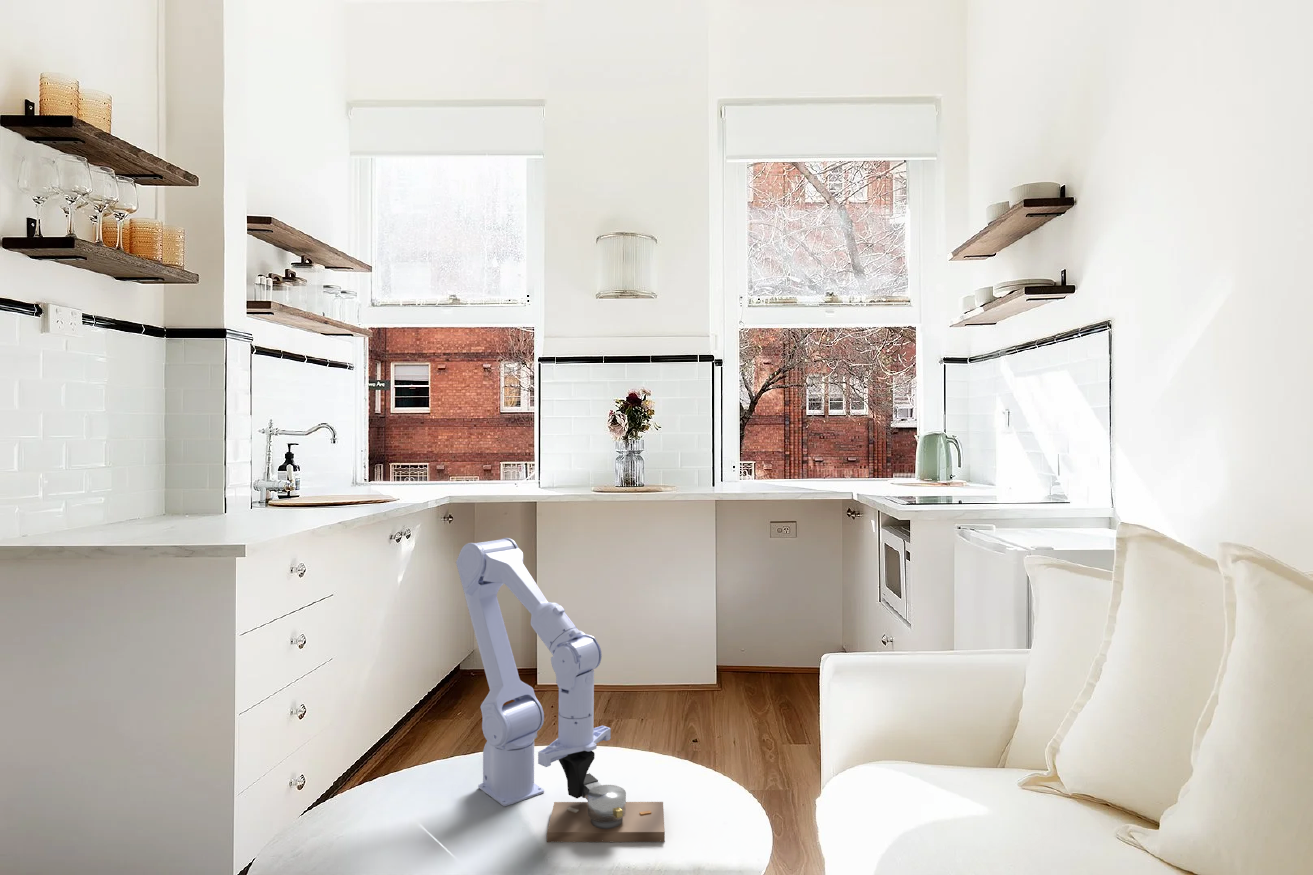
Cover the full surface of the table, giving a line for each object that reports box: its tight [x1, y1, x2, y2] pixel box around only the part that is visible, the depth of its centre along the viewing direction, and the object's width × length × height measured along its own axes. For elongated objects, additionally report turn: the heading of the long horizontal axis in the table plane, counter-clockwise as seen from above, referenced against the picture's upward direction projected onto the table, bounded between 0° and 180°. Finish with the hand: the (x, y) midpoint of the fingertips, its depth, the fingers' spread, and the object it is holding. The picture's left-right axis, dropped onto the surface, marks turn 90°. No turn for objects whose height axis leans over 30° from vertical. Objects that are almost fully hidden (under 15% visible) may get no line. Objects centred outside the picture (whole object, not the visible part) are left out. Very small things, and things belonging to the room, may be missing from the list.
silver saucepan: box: [581, 772, 627, 822], centre depth 122 cm, size 13×6×3 cm, turn 32°
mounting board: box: [546, 801, 666, 843], centre depth 122 cm, size 10×18×2 cm, turn 91°
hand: (575, 795), depth 125 cm, fingers closed
